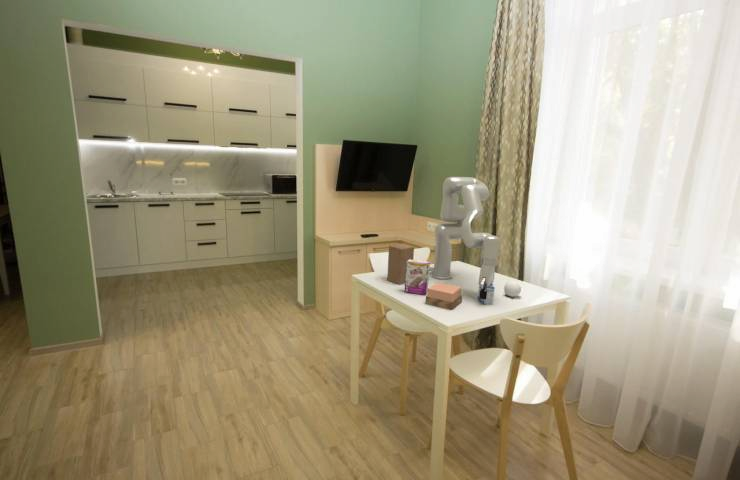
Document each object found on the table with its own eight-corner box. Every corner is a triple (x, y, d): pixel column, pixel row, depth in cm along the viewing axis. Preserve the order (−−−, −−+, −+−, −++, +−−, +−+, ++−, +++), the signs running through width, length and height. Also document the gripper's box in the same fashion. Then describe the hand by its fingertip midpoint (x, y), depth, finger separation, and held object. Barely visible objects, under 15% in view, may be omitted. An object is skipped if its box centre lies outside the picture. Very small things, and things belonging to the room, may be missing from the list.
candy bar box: (404, 292, 191) (405, 261, 188) (406, 289, 196) (408, 259, 193) (426, 295, 188) (428, 263, 184) (427, 292, 192) (430, 261, 189)
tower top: (427, 296, 176) (427, 288, 175) (437, 290, 186) (437, 282, 185) (452, 302, 170) (452, 293, 169) (460, 295, 180) (461, 287, 179)
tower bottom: (425, 304, 177) (425, 296, 176) (436, 297, 188) (436, 289, 187) (451, 311, 170) (452, 302, 169) (461, 303, 181) (462, 295, 180)
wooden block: (399, 285, 203) (401, 248, 199) (386, 280, 210) (388, 245, 207) (412, 281, 210) (414, 246, 206) (399, 277, 217) (401, 243, 213)
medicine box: (477, 298, 186) (479, 281, 185) (485, 298, 187) (487, 281, 185) (484, 304, 179) (486, 286, 177) (493, 304, 179) (495, 286, 178)
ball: (520, 300, 187) (522, 284, 185) (503, 297, 189) (505, 282, 187) (519, 294, 194) (521, 280, 193) (502, 292, 197) (504, 278, 195)
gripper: (486, 257, 188) (483, 290, 191) (475, 263, 174) (472, 299, 177) (501, 259, 184) (498, 293, 188) (491, 266, 170) (488, 302, 173)
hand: (485, 296), depth 182 cm, fingers closed on medicine box, 9 cm apart
